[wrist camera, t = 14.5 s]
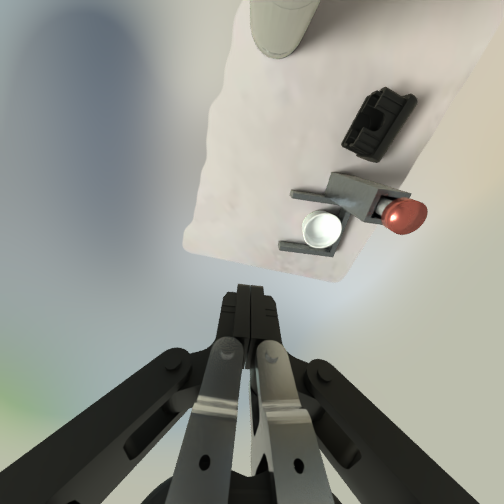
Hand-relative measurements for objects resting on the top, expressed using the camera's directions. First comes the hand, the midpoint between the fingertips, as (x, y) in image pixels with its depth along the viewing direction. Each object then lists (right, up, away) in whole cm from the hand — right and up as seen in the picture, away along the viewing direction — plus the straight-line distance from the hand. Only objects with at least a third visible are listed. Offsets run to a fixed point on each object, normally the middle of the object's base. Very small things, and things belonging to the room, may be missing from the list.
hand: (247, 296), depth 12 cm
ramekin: (+17, +10, +38) cm, 42 cm away
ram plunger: (+20, +12, +23) cm, 33 cm away
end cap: (+24, +28, +28) cm, 46 cm away
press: (+16, +12, +36) cm, 41 cm away
